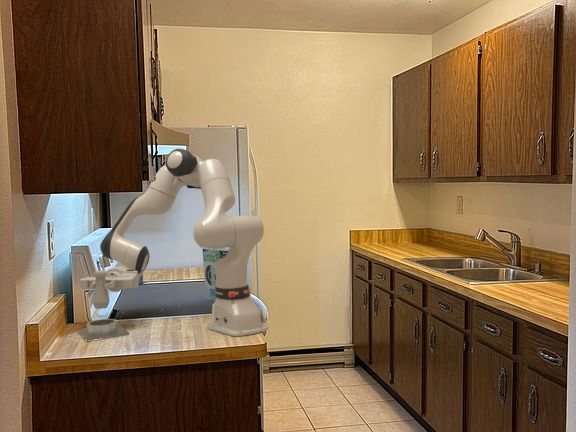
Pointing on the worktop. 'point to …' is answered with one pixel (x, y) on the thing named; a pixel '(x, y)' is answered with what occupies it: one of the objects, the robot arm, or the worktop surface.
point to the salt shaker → (100, 290)
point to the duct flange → (102, 329)
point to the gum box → (211, 269)
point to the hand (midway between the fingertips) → (98, 286)
